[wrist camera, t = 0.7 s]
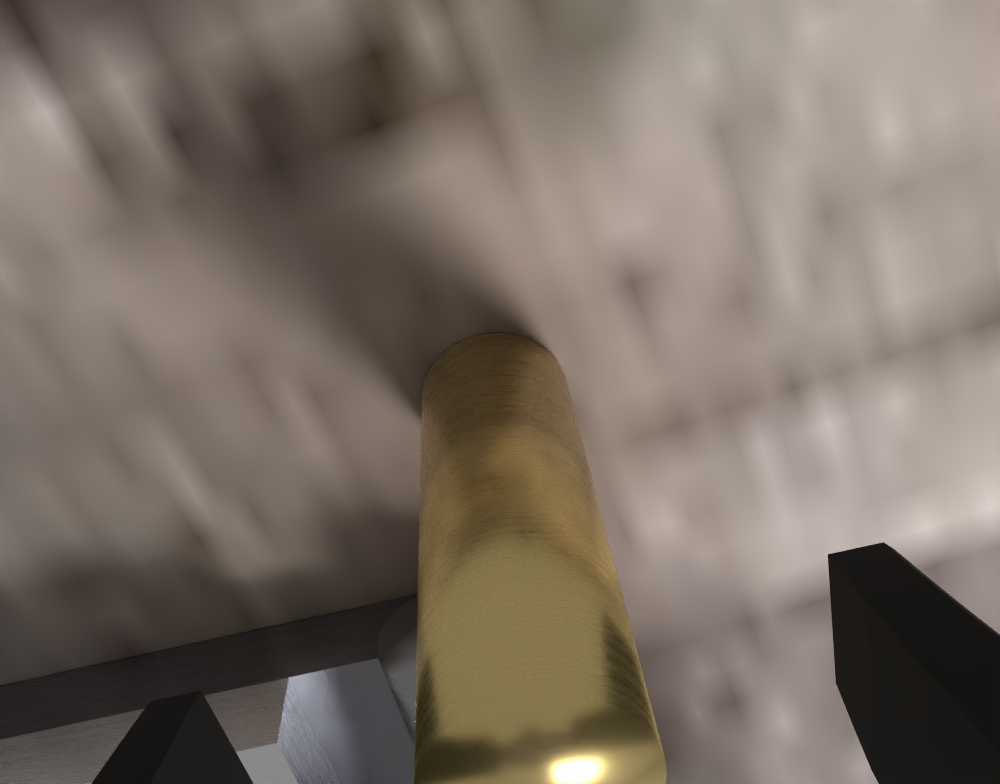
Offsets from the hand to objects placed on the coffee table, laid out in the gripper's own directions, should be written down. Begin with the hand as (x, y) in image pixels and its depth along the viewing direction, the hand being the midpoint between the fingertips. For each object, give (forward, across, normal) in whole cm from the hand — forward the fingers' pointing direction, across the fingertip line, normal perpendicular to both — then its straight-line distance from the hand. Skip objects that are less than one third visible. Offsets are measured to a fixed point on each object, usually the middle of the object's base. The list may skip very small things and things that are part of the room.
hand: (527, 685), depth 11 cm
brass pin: (+7, 0, 0) cm, 7 cm away
